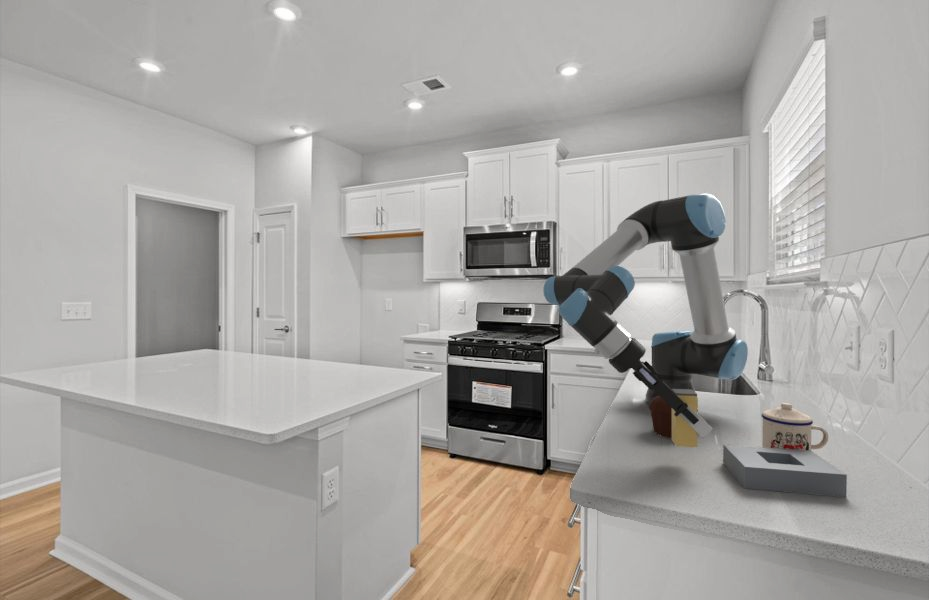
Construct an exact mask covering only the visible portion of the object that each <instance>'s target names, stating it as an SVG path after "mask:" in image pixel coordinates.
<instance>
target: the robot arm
mask: <svg viewBox="0 0 929 600" xmlns="http://www.w3.org/2000/svg"><path fill="white" fill-rule="evenodd" d="M726 221H727V220H726V215H725V211H724V208H723V205H722V204H721V201H720V200H718V198H716V197H715V195H713V194H710V193H701V194H690V195H689V194H688V195H685V196H679V197H674V198H669V199H664V200H658V201H653V202H652V203H648V204H647V205H644V206H642V207H641V208H639V209H637V210H636V211H635V212H633V213H631V214H630V215H629V216H627V217H626V218H625V219H624V220H622V221H621V222H620V223H619V224H618V225H617V228H616V231H614V232H613V233H612V234H611V235H610V236H608V238H606V239H605V240H604V241H602V243H600V244H598V246H597V247H595V248H594V249H593V250H591V252H589V253H588V254H587V255H586V256H585V257H583V258H582V259H581V260H580V261H578V262H577V263H576V264H575V265H574V266H572V267H571V268H570V269H569V270H568V271H566V272H565V273H563V274H562V275H555V276H550V277H548V278H547V280H545V282H544V285H543V296H544V299H545V301H546V302H547V303H548V304H550V305H553V306H554V305H555V306H558V309H557V311H558V314H559V315H560V316H561V317H562V319H563V320H564V321H565V322H566V323H567V324H568V326H570V327H571V328H572V329H573V330H574V331H575V332H576V333H578V335H580V336H581V337H582V339H584V340H585V341H586V342H587V343H588V344H589V345H590V346H591V347H592V348H593V349H594V351H593V352H594V354H595V355H597V354H599V353H600V355H601V356H602V357H603V358H604V359H606V360H608V364H610V365H611V366H612V367H613V368H614V369H615V370H616V371H617V372H618V373H622V374H623V373H626V372H627V371H629V370H630V369H632V370H633V372H632V375H634V377H635V378H636V379H637V380H638V381H639V382H642V383H643V384H644V385H645V386H646V387H647V390H646V393H645V403H646V404H648V403H650V402H651V401H652V399H653V398H655V397H656V396H658V395H659V396H660V397H661V398H662V399H663V400H664V401H665V402H666V403H667V404H668V405H669V406H670V407H671V408H672V409H674V410H675V412H676V413H675V414H674V415H675V416H676V417H677V416H678V415H680V416H681V417H682V418H683V419H684V420H685V421H686V422H687V423H688V424H689V425H690V426H691V427H692V428H693V429H694V430H695V431H696V432H697V435H699V436H701V438H705V437H706V436H707V435H708V434H709V433H711V432H712V431H713V430H714V428H713V427H712V426H711V425H710V424H709V423H708V422H707V420H705V419H704V418H703V417H701V415H700V414H698V412H697V413H696V412H695V411H694V410H693V409H692V408H691V407H690V406H689V405H688V404H686V403H684V402H683V401H682V400H681V399H680V398H679V397H678V396H677V395H676V394H675V393H674V392H673V391H672V389H692V390H693V391H694V392H695V393H697V392H696V390H695V387H694V383H693V379H692V377H693V375H695V376H701V377H702V376H703V377H707V378H714V379H718V380H736V379H738V378H739V377H740V376H741V375H742V374H743V372H744V370H745V368H746V364H747V361H748V356H749V355H748V354H749V353H748V350H749V349H748V344H747V343H746V341H744V340H742V339H740V338H739V339H737V334H736V330H735V329H734V328H732V327H730V326H729V324H728V320H727V319H728V318H727V314H726V308H725V303H724V297H723V290H722V285H721V279H720V273H719V269H718V263H717V258H716V252H715V246H716V245H717V244H718V243H719V242H720V236H722V235H723V233H724V232H725V229H726V225H725V223H726ZM663 242H665V243H666V242H670V245H671V249H672V251H674V252H675V253H677V254H678V255H679V259H680V265H681V269H682V274H683V279H684V284H685V290H686V294H687V299H688V305H689V310H690V314H691V315H690V316H691V319H692V326H693V329H694V330H693V331H692V330H681V331H680V330H679V331H678V330H676V331H666V332H665V331H663V332H657V333H654V334H653V335H652V338H651V347H650V349H651V364H650V363H649V362H648V361H647V360H646V361H641V359H642V358H644V356H645V354H646V348H645V346H643V344H641V342H639V340H637V339H636V337H635V338H634V337H632V334H631V333H630V332H629V331H628V330H627V329H626V328H625V327H624V326H623V325H622V324H621V323H620V322H618V321H617V320H616V319H615V318H614V317H613V316H612V315H613V314H614V312H615V311H617V309H618V308H619V307H620V306H621V305H622V304H623V303H624V302H625V301H626V299H628V298H629V295H630V294H631V292H632V291H633V290H634V288H635V286H636V285H635V284H636V282H635V278H634V276H633V274H632V273H631V271H630V270H628V269H627V268H625V267H623V266H619V265H621V264H622V263H623V262H624V261H625V260H626V259H627V258H629V257H630V256H631V255H632V254H633V253H634V252H635V251H640V250H643V249H644V248H645V247H646V246H648V245H650V244H655V243H663ZM698 399H699V398H698V397H697V408H698V406H699V400H698Z"/></svg>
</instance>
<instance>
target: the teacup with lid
mask: <svg viewBox="0 0 929 600" xmlns="http://www.w3.org/2000/svg"><path fill="white" fill-rule="evenodd" d="M761 418H762V438H761V439H762V440H761V441H762V443H761V445H762V446H761V447H766V448H780V449H795V450H810V451H812V450H819V449H822V448H824V447H825V446H826V445H827V444H828V443H829V434H828V431H827V430H826V429H825V428H823V427H821V426H819V425H814V424H813V423H814V422H813V419H812V417H811V416H809V415H808V414H805V413H803V412H801V411H799V410H797V409H795V408H793V404H791V403H789V402H782V403H781V404H780V406H777V407H775V408H772V409H767V410H764V411H762V413H761ZM812 430H814V431H815V430H817V431H821V432H822V440H821V441H820V442H819V443H817V444H812Z"/></svg>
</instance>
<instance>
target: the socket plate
mask: <svg viewBox="0 0 929 600" xmlns="http://www.w3.org/2000/svg"><path fill="white" fill-rule="evenodd" d="M722 446H723V449H722V451H723V452H722V455H723V456H722V464H723V465H724V466H725V467H726V469H728V471H729V472H730V473H731V474H732V476H734V478H736V480H737V481H738V482H739V484H740V485H741V486H742V487H743V488H744V489H748V490H749V489H750V490H762V491H771V492H773V491H774V492H783V493H795V494H805V495H806V494H807V495H817V496H826V497H827V496H830V497H839V498H840V497H841V498H847V492H848V491H847V484H848V483H847V479H848V477H847V476H848V474H847V473H845V472H843V471H842V470H841V469H840V468H838V467H836V466H835V465H833V464H831V462H829V461H827V460H826V459H824V458H823V457H821V456H820V455H818V454H817V453H815V452H814V451H812V450H811V451H810V450H795V449H780V448H766V447H762V446H749V445H733V444H723V445H722Z"/></svg>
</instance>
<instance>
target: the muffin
mask: <svg viewBox="0 0 929 600" xmlns="http://www.w3.org/2000/svg"><path fill="white" fill-rule="evenodd" d="M647 404H648V403H647ZM647 407H648V409H649V410H650V416H651V423H652V429H654V430H653V432H654V434H655V433H656V434H655V435H658V434H659V435H658V436H660V435H661V436H660V437H662V438H667V439H668V438H669V439H672V408H671V407H670V406H669V405H668V404H667V403H666V402H665V401H664V400H663V399H662V398H661V397H660V396H659V395H658V396H656V397H655V398H653V399H652V401H651V402H650V403H649V404H648V405H647ZM698 412H699V410H698V408H697V413H698Z"/></svg>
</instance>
